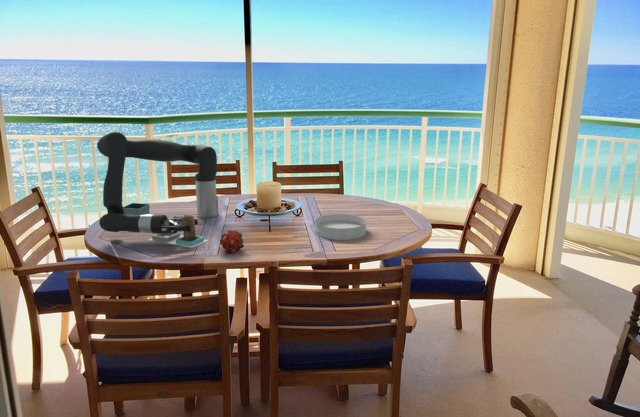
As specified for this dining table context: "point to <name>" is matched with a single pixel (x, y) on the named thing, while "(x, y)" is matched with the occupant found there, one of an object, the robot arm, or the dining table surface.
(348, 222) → the dish
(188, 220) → the jar
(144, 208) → the flower pot
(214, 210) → the robot arm
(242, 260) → the dining table surface
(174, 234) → the frame board
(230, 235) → the dragon fruit
